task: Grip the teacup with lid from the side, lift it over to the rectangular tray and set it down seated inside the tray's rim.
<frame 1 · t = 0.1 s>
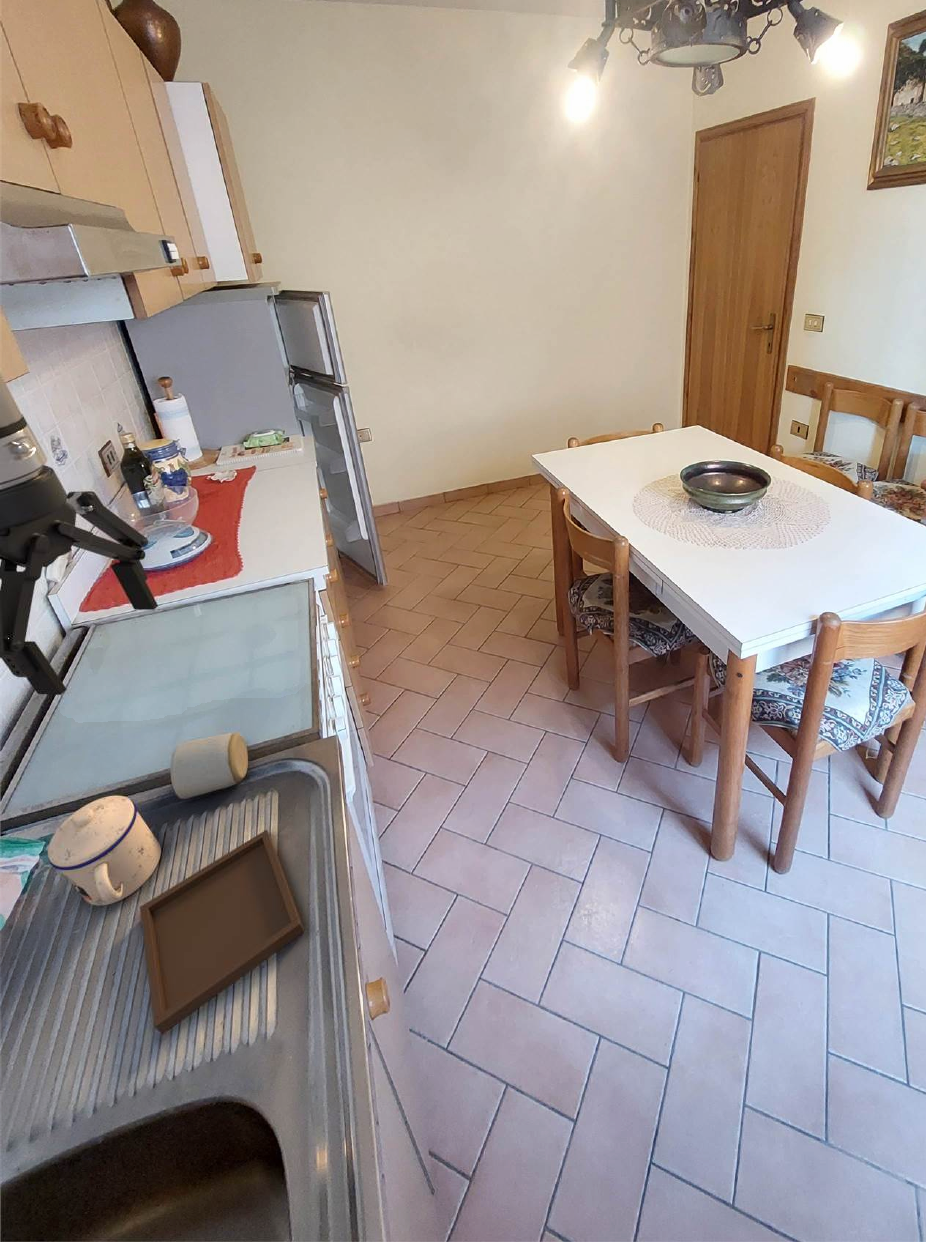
hand: (103, 646, 66), 31 cm above the worktop, tool pointing down, fingers open, 13 cm apart
ceramic mug: (220, 774, 87), on the worktop
teacup with lid: (125, 881, 74), on the worktop
rectangular tray: (223, 923, 68), on the worktop
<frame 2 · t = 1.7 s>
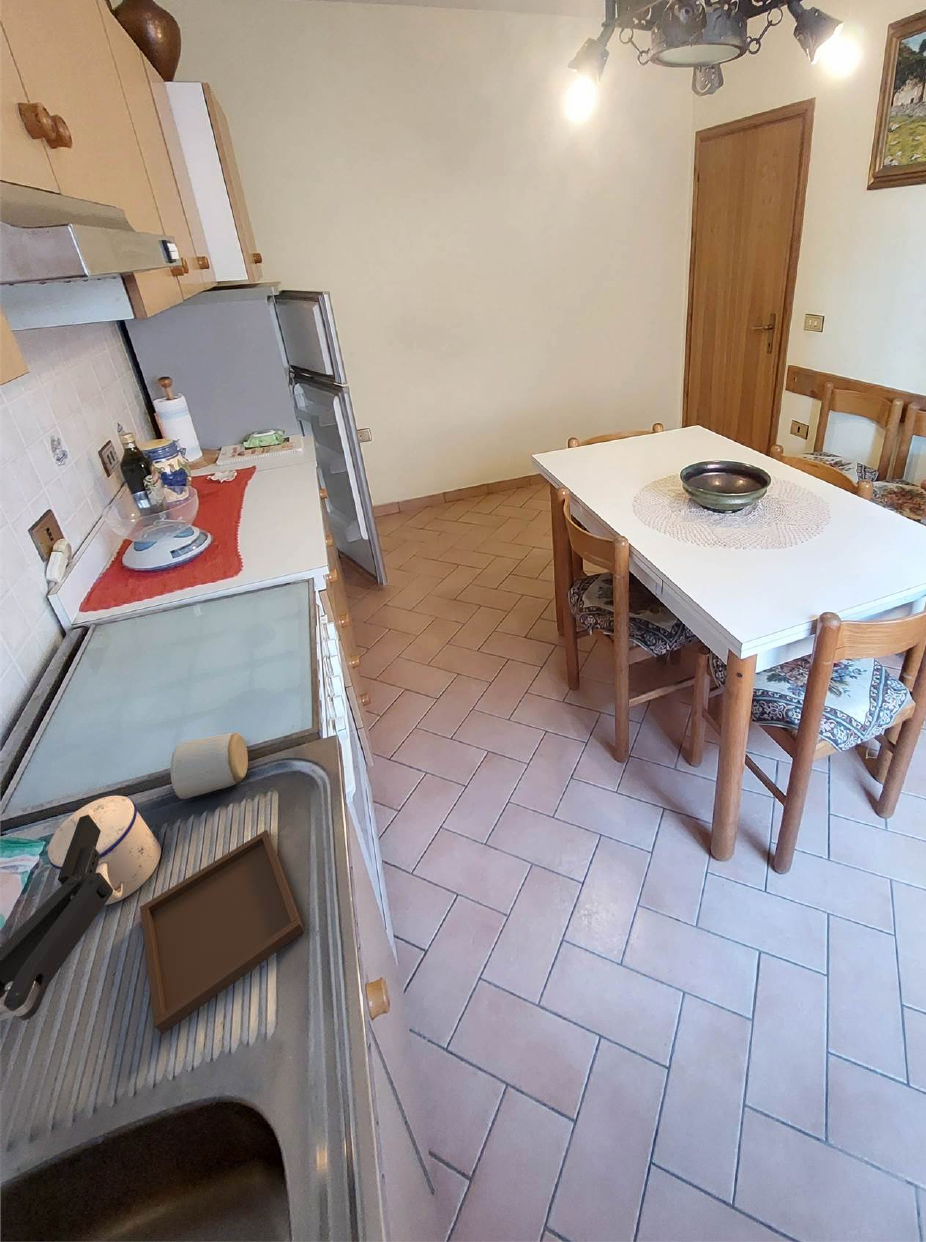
hand: (10, 852, 57), 20 cm above the worktop, tool horizontal, fingers open, 13 cm apart
nothing on the worktop moved.
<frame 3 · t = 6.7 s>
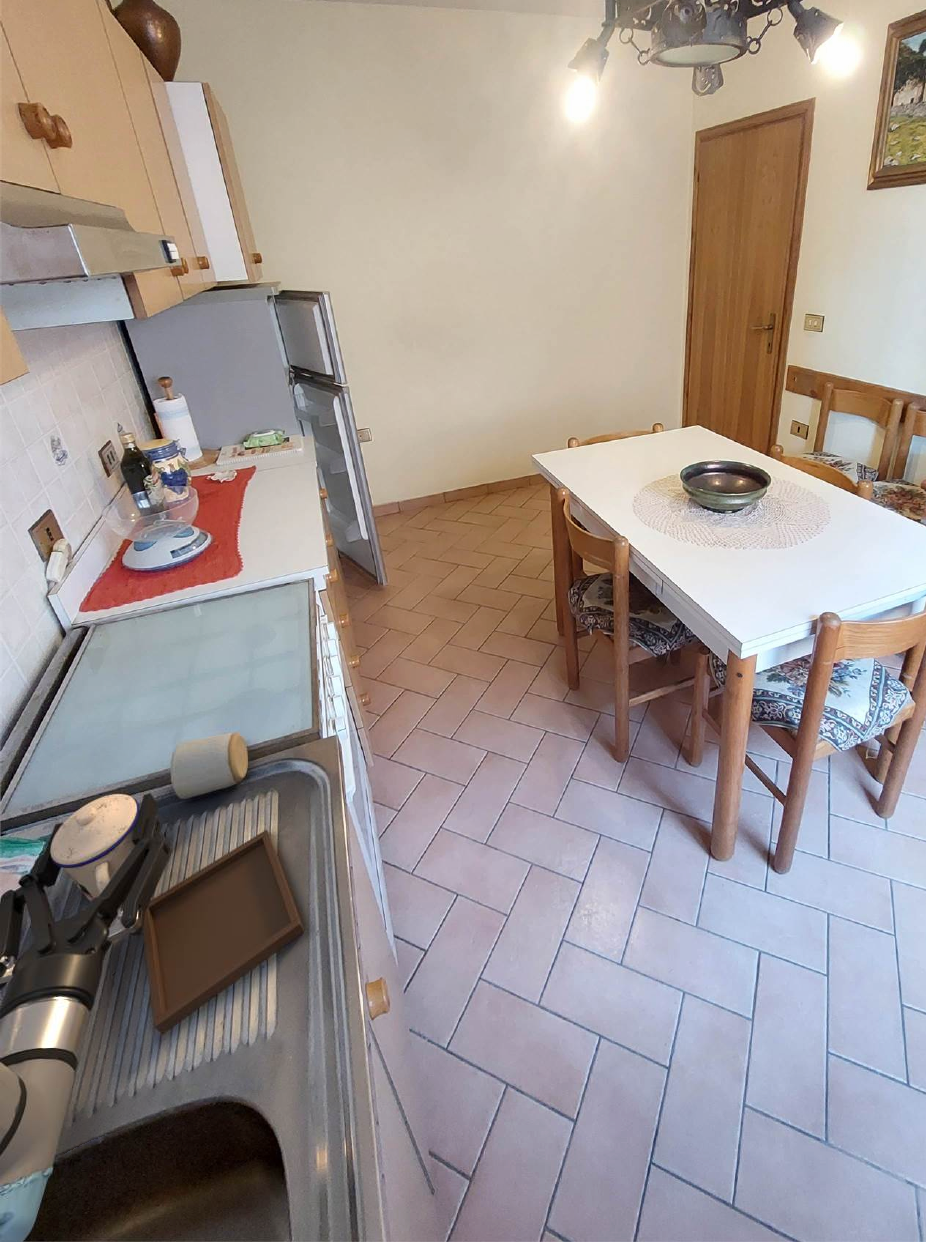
hand: (108, 815, 74), 7 cm above the worktop, tool horizontal, fingers closed on teacup with lid, 9 cm apart
teacup with lid: (127, 879, 74), on the worktop, touching gripper
everything else where it was.
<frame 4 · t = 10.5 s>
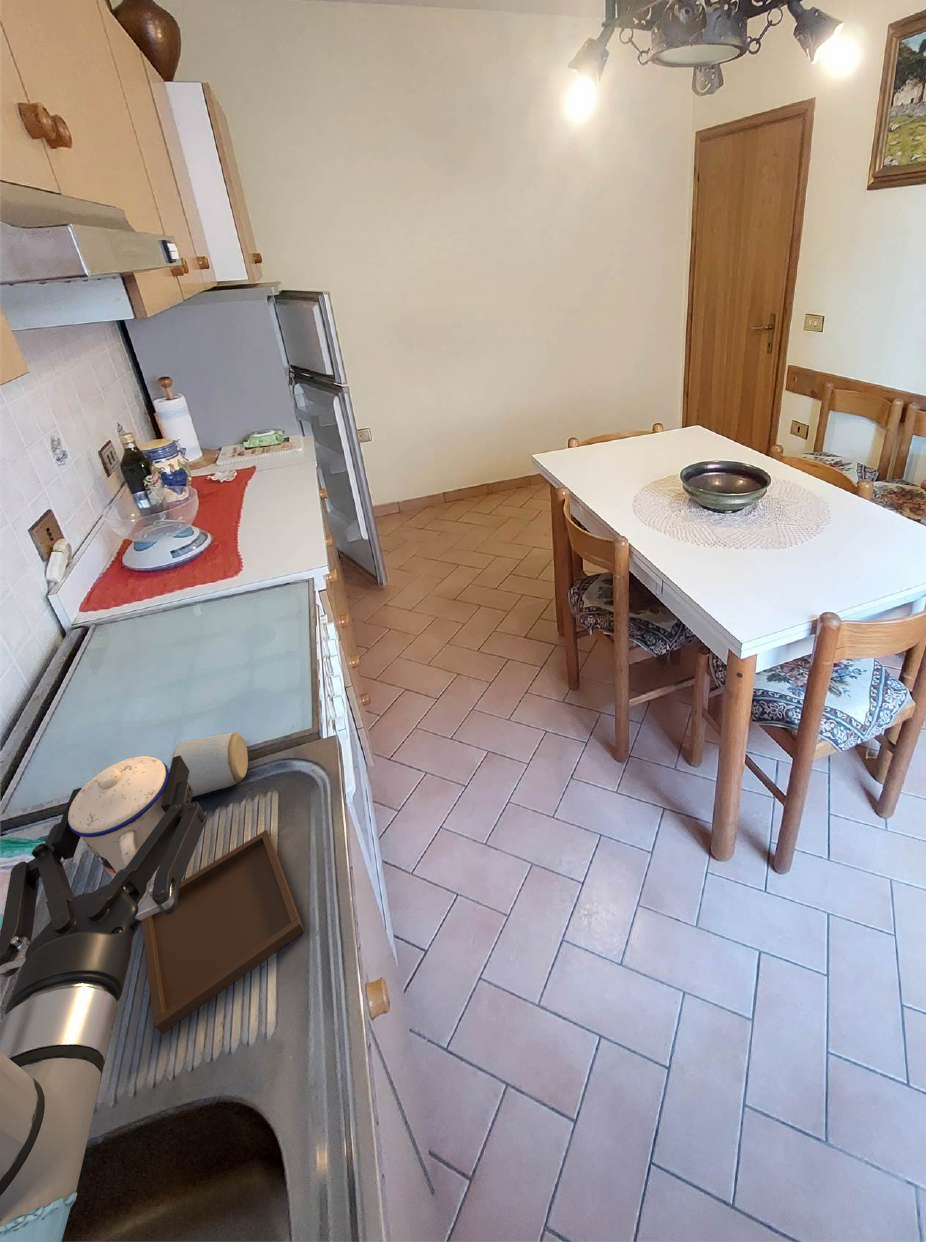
hand: (133, 780, 65), 18 cm above the worktop, tool horizontal, fingers closed on teacup with lid, 9 cm apart
teacup with lid: (154, 854, 65), point 11 cm above the worktop, touching gripper
everything else where it was.
when the fingers open (8 cm above the worktop, at t = 14.6 s): teacup with lid stays where it is, resting on rectangular tray.
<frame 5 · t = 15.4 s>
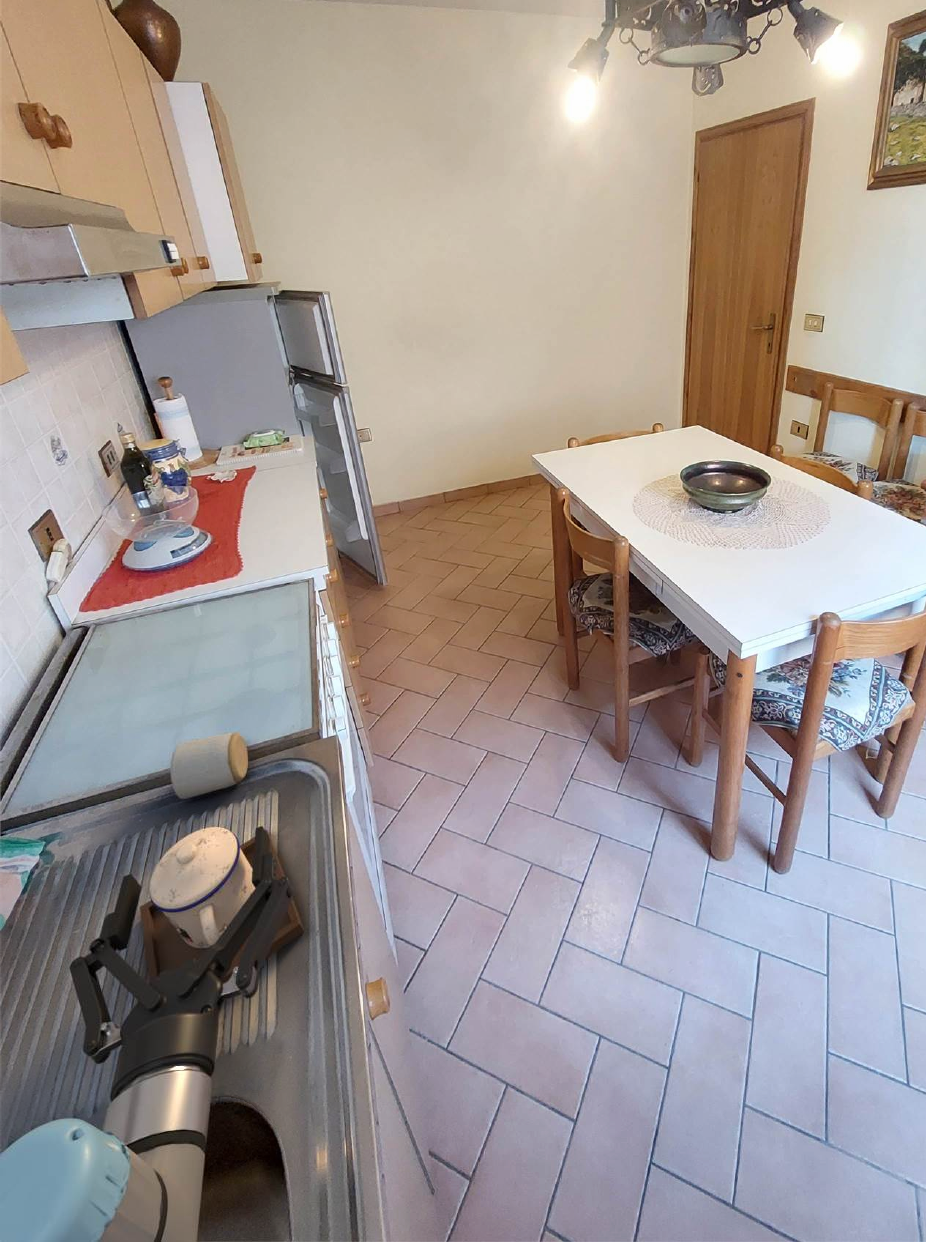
hand: (199, 857, 67), 9 cm above the worktop, tool horizontal, fingers open, 13 cm apart
teacup with lid: (225, 920, 68), resting on rectangular tray
everything else where it was.
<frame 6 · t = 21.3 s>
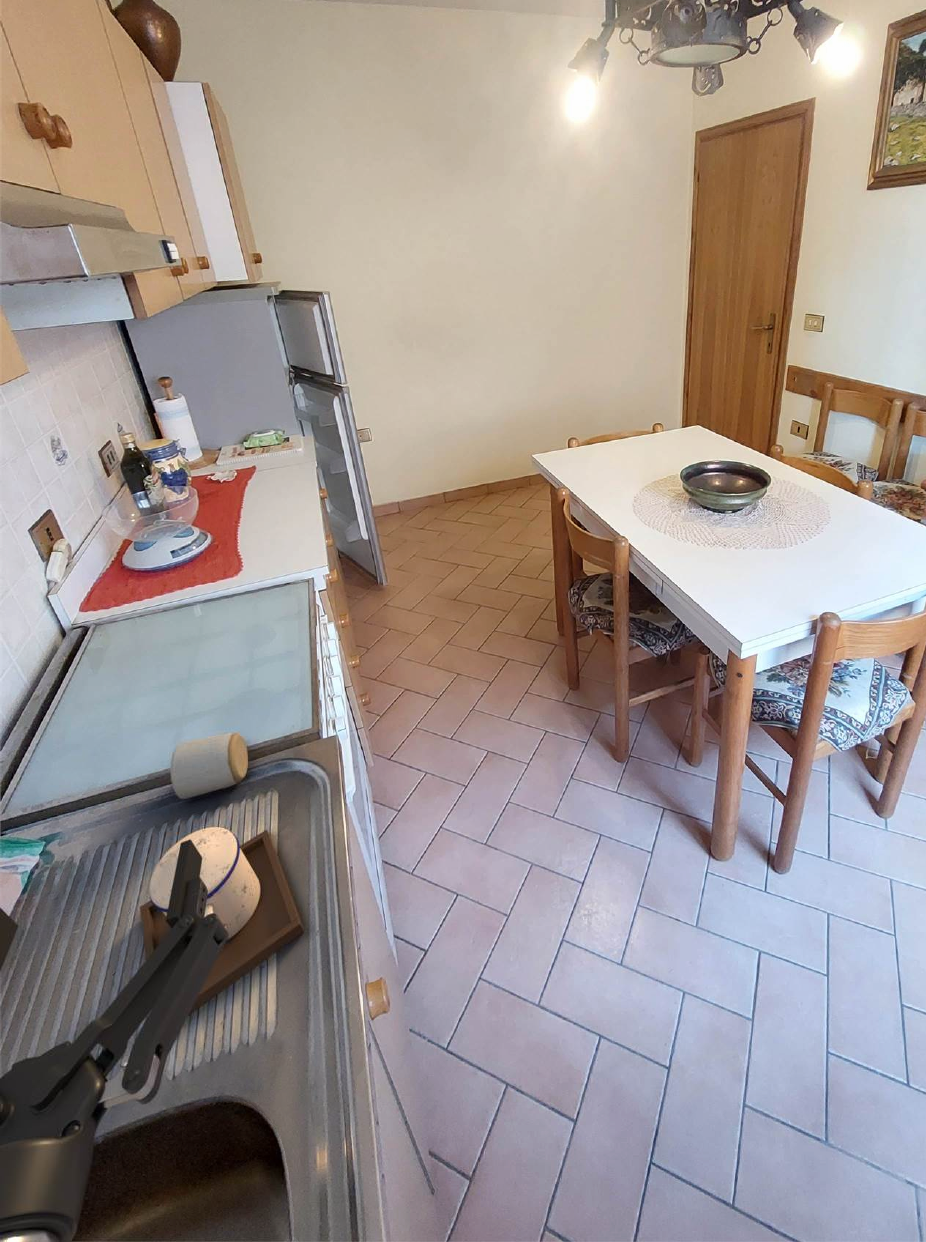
hand: (101, 882, 48), 25 cm above the worktop, tool horizontal, fingers open, 13 cm apart
nothing on the worktop moved.
at the end: teacup with lid 0.3 cm off-centre in the rectangular tray, point 0.4 cm above the rectangular tray's base; teacup with lid tilted 0°; the gripper is holding nothing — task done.
